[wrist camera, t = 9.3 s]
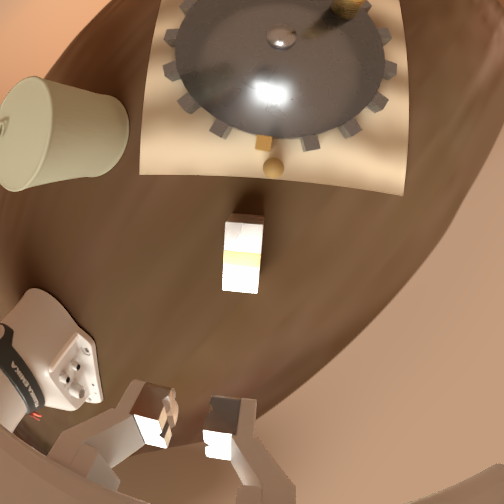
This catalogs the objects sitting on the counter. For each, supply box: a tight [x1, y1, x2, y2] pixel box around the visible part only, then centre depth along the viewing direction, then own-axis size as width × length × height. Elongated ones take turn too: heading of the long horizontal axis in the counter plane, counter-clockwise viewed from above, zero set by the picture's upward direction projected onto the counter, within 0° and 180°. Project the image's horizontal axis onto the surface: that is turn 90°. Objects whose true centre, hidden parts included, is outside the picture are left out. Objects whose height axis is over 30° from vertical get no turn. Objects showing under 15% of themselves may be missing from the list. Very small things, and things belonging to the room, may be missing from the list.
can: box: [0, 76, 129, 192], centre depth 18 cm, size 9×9×12 cm
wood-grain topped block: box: [223, 213, 264, 293], centre depth 24 cm, size 6×3×4 cm, turn 176°
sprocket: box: [162, 0, 397, 152], centre depth 16 cm, size 20×20×7 cm
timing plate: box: [140, 0, 409, 196], centre depth 18 cm, size 25×25×4 cm
